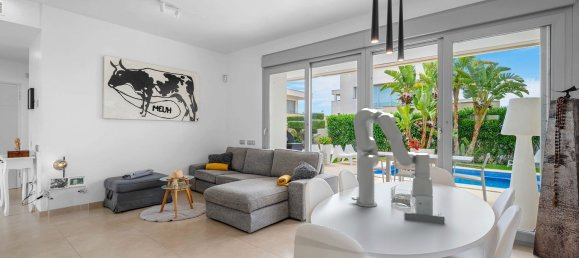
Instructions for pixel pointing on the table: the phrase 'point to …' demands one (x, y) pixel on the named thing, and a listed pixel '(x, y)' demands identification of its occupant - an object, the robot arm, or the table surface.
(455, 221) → the table surface
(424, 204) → the small box
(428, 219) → the charging dock
